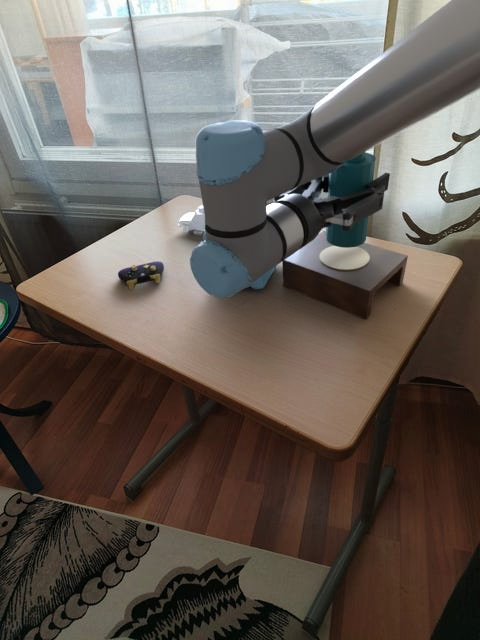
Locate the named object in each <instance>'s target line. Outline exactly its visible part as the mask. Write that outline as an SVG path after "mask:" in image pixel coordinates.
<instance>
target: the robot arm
mask: <svg viewBox="0 0 480 640" xmlns="http://www.w3.org/2000/svg"><path fill="white" fill-rule="evenodd" d="M478 91H480V0H450V1H448V2H447V3H445V5H442V7H440V8H439V9H438V10H436V12H434V13H432V15H430V16H429V17H427V18H426V19H425V20H424V21H422V22H421V23H420V24H419V25H417V26H416V27H414V28H413V29H412V30H411V31H409V32H408V33H406V34H405V35H404V36H403V37H402V38H400V39H398V41H396V42H395V43H393V45H391V46H390V47H388V48H387V49H386V50H385V51H383V52H382V53H381V54H379V55H378V56H376V58H374V59H373V60H372V61H370V62H369V63H367V65H365V66H364V67H363V68H361V69H360V70H359V71H357V72H356V73H355V74H353V75H352V76H350V78H348V79H347V80H346V81H344V82H343V83H342V84H341V85H339V86H338V87H336V88H335V89H334V90H332V91H331V92H330V93H329V94H328V95H326V96H325V97H323V98H322V99H321V100H320V101H318V102H317V103H316V104H315V105H314V106H313V107H310V108H309V109H308V110H307V111H306V112H304V113H303V114H301V115H300V116H298V118H296V119H295V120H293V121H290V122H289V123H285V124H284V125H280V126H278V127H275V128H271V129H269V130H265V131H263V129H262V127H261V126H260V125H259V124H258V123H256V122H254V121H250V120H242V119H241V120H240V119H233V120H226V121H221V122H214V123H211V124H208V125H206V126H204V127H202V128H201V129H200V130H199V131H198V133H197V134H196V136H195V142H194V143H195V165H196V166H195V167H196V177H197V179H198V183H199V191H200V196H201V201H202V206H203V208H204V214H205V233H206V240H205V241H204V240H203V241H200V242H199V244H198V245H196V246H195V247H194V248H193V250H192V251H191V256H190V258H189V266H190V270H191V273H192V275H193V277H194V279H195V281H196V282H197V284H198V285H199V287H200V288H201V289H202V290H203V291H204V292H205V293H206V294H209V295H211V296H213V297H215V298H217V299H228V298H230V297H232V296H234V295H236V294H237V293H239V292H241V291H242V290H244V289H247V288H249V287H251V286H250V285H251V284H252V283H253V282H254V281H256V280H257V279H258V278H260V277H261V276H262V275H264V274H265V273H266V272H268V271H269V270H271V269H272V268H273V267H275V266H276V265H277V266H278V265H279V264H282V261H283V260H285V259H286V258H288V257H289V256H291V255H292V254H294V253H295V252H296V251H298V250H299V249H301V248H303V247H304V246H306V245H307V244H308V243H310V242H311V241H313V240H314V239H315V238H316V237H317V235H318V234H320V233H321V232H322V230H323V229H326V227H329V226H331V225H332V224H339V225H341V226H342V230H344V231H349V230H350V229H351V228H352V226H353V225H354V224H356V223H358V222H359V221H361V220H363V219H365V218H367V217H368V216H369V217H370V216H372V215H374V214H376V213H378V212H379V211H382V210H383V204H384V198H385V192H386V191H388V189H389V184H390V176H391V172H390V173H389V172H385V173H383V174H381V175H379V176H378V177H376V178H374V181H372V182H371V183H369V184H367V185H366V189H365V190H361V191H358V192H355V193H352V194H348V195H345V196H342V197H336V196H331V197H328V196H327V197H325V198H321V197H320V196H321V194H322V193H324V194H328V186H329V173H332V172H334V171H335V170H336V169H338V168H339V167H341V166H342V165H343V164H344V163H345V162H347V161H349V160H351V159H353V158H355V157H356V156H358V155H360V154H362V153H364V152H366V153H367V152H368V151H369V150H371V149H373V148H375V147H377V146H378V145H381V144H382V143H384V142H386V141H388V140H389V139H392V138H393V137H396V136H397V135H399V134H401V133H403V132H405V131H406V130H408V129H410V128H412V127H414V126H416V125H418V124H419V123H420V122H423V121H425V120H427V119H429V118H430V117H432V116H434V115H436V114H438V113H439V112H442V111H443V110H445V109H447V108H449V107H450V106H452V105H454V104H456V103H458V102H460V101H462V100H464V99H465V98H468V97H469V96H471V95H473V94H475V93H476V92H478ZM270 200H273V203H271V204H268V205H267V202H268V201H270ZM277 266H276V267H277Z"/></svg>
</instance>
